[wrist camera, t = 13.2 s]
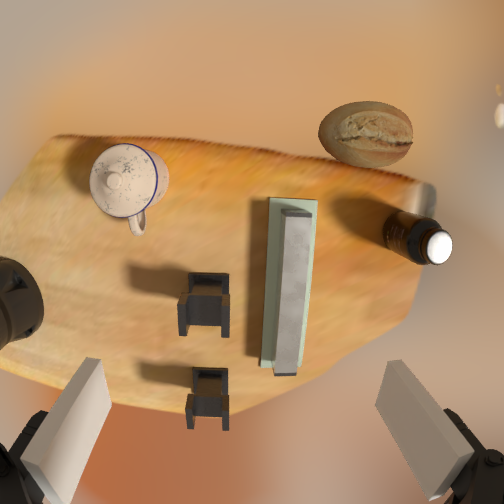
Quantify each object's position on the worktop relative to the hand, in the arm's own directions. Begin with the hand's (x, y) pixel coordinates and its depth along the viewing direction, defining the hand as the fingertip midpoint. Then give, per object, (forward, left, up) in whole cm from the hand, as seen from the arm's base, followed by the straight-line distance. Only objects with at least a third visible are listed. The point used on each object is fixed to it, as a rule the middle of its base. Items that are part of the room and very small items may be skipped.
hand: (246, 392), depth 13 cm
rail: (+8, -8, -34) cm, 36 cm away
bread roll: (+18, +16, -35) cm, 43 cm away
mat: (+8, -8, -35) cm, 36 cm away
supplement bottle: (+26, +2, -35) cm, 44 cm away
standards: (-4, -17, -35) cm, 39 cm away
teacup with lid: (-14, +7, -35) cm, 38 cm away
